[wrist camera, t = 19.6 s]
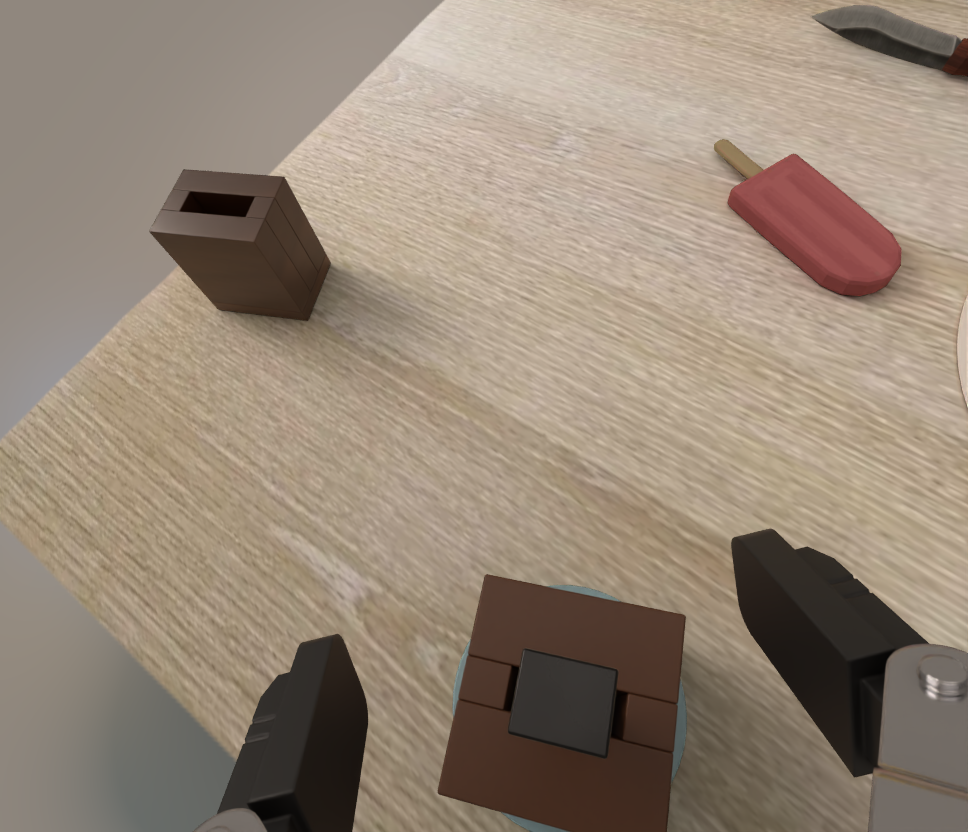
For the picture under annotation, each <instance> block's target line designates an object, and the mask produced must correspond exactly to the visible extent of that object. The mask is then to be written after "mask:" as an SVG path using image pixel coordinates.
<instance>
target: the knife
mask: <svg viewBox="0 0 968 832" xmlns="http://www.w3.org/2000/svg"><path fill="white" fill-rule="evenodd" d="M811 17H812V18H813V19H815V20H816V21H818V22H819V23H820V24H822V25H823V26H825V27H826V28H828V29H829V30H831V31H833V32H835V33H836V34H838V35H840V36H842V37H844V38H846V39H848V40H851V41H853V42H855V43H857V44H860V45H862V46H865V47H867V48H870V49H873V50H875V51H878V52H881V53H884V54H887V55H890V56H893V57H896V58H899V59H903V60H906V61H909V62H913V63H916V64H920V65H924V66H928V67H932V68H936V69H940V70H943V71H945V72H948V73H950V74H952V75H962V76H967V77H968V39H966V38H963V40H961V39H959V38H958V37H957V36H955V35H951V34H947V33H944V32H941V31H937V30H934V29H931V28H928V27H926V26H923V25H921V24H918V23H915V22H913V21H910V20H908V19H905V18H903V17H901V16H898V15H896V14H894V13H892V12H889V11H887V10H885V9H882V8H879V7H877V6H872V5H853V6H848V7H843V8H838V9H832V10H828V11H825V12H822V13H819V14H816V15H814V16H811Z"/></svg>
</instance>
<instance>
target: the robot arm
mask: <svg viewBox="0 0 968 832" xmlns="http://www.w3.org/2000/svg"><path fill="white" fill-rule="evenodd" d="M731 548H732V556H733V564H734V572H735V580H736V588H737V595H738V602H739V607H740V611H741V614H742V617H743V619H744V622H745V624H746V626H747V628H748V630H749V632H750V633H751V635H752V636H753V638H754V639H755V641H756V642H757V643H758V645H759V646H760V647H761V649H762V650H763V652H764V653H765V654H766V656H767V657H768V659H769V660H770V661H771V663H772V664H773V665H774V667H775V668H776V670H777V671H778V672H779V674H780V675H781V677H782V678H783V679H784V681H785V682H786V683H787V685H788V686H789V688H790V689H791V690H792V692H793V693H794V695H795V696H796V697H797V699H798V700H799V701H800V703H801V704H802V706H803V707H804V708H805V710H806V711H807V713H808V714H809V715H810V717H811V718H812V719H813V721H814V722H815V724H816V725H817V726H818V728H819V729H820V731H821V732H822V733H823V735H824V736H825V737H826V739H827V740H828V742H829V743H830V744H831V746H832V747H833V749H834V750H835V751H836V753H837V754H838V755H839V757H840V758H841V760H842V761H843V762H844V764H845V765H846V767H847V768H848V769H849V771H850V772H851V774H852V775H853V776H854V778H855V777H859V776H863V775H867V774H871V773H873V777H872V788H871V800H870V811H869V823H868V832H968V653H966V652H964V651H962V650H958V649H955V648H952V647H948V646H943V645H936V644H929V643H928V642H927V641H926V640H925V639H923V638H922V637H921V636H920V635H919V634H918V633H917V632H916V631H915V630H913V629H912V628H911V627H910V626H909V625H908V624H907V623H906V622H904V621H903V620H902V619H901V618H900V617H899V616H898V615H897V614H896V613H894V612H893V611H892V610H891V609H890V608H889V607H888V606H887V605H885V604H884V603H883V602H882V601H881V600H880V599H879V598H878V597H877V596H875V595H874V594H873V593H870V592H869V590H868V588H867V587H865V586H864V585H863V584H862V583H861V582H860V581H859V580H858V579H854V578H853V575H852V574H851V573H850V572H849V571H848V570H846V569H845V568H844V567H843V566H842V565H841V564H840V563H839V562H837V561H836V560H835V559H834V558H832V557H830V556H827V555H825V554H823V553H821V552H818V551H816V550H814V549H812V548H809V547H804V548H800V549H796V550H795V549H793V548H792V547H791V546H790V545H789V544H788V543H787V542H786V541H785V540H784V539H783V538H782V537H781V536H780V535H779V534H778V533H777V532H776V531H775V530H773V529H766V530H762V531H758V532H754V533H750V534H746V535H742V536H738V537H734V538H733V539H732V542H731ZM252 722H253V724H252V725H250V727H249V730H248V733H247V735H246V738H245V744H243V746H242V749H241V751H240V754H239V757H238V759H237V762H236V765H235V767H234V770H233V773H232V775H231V778H230V781H229V783H228V786H227V789H226V791H225V794H224V796H223V799H222V802H221V805H220V807H219V810H218V813H217V815H215V816H213V817H211V818H210V819H208V820H207V821H205V822H204V823H202V824H201V825H200V826H199V827H197V828H196V829H195V830H194V831H193V832H352V829H353V822H354V816H355V809H356V802H357V795H358V789H359V782H360V775H361V768H362V762H363V755H364V748H365V741H366V735H367V728H368V710H367V703H366V698H365V695H364V691H363V689H362V686H361V684H360V681H359V678H358V676H357V673H356V671H355V668H354V666H353V663H352V660H351V658H350V655H349V653H348V650H347V648H346V645H345V643H344V640H343V639H342V637H341V636H340V635H339V634H335V635H331V636H327V637H323V638H319V639H315V640H311V641H306V642H302V643H301V644H300V645H299V647H298V650H297V653H296V656H295V659H294V662H293V665H292V668H291V671H290V672H289V673H285V674H281V675H278V676H277V677H276V679H275V680H274V681H273V683H272V684H271V685H270V686H269V688H268V689H267V690H266V691H265V693H264V694H263V695H262V696H261V698H260V701H259V703H258V706H257V709H256V711H255V714H254V717H253V719H252Z"/></svg>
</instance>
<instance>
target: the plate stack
mask: <svg viewBox="0 0 968 832" xmlns="http://www.w3.org/2000/svg"><path fill="white" fill-rule="evenodd" d="M957 359H958V369H959V376H960V381H961V386H962V390H963V394H964V398H965V401H966V404H967V407H968V295H967V297H966V300H965V303H964V306H963V309H962V313H961V317H960V322H959V328H958V338H957Z"/></svg>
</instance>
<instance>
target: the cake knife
mask: <svg viewBox="0 0 968 832" xmlns="http://www.w3.org/2000/svg"><path fill="white" fill-rule="evenodd" d="M618 674H619V672H618V670H617V669H616V668H612V667H607V666H603V665H599V664H594V663H590V662H586V661H581V660H577V659H572V658H568V657H564V656H559V655H555V654H551V653H546V652H542V651H538V650H533V649H529V648H524V649H523V650H522V655H521V660H520V666H519V671H518V676H517V682H516V687H515V692H514V698H513V703H512V708H511V714H510V719H509V724H508V733H509V734H510V735H513V736H517V737H521V738H525V739H529V740H532V741H536V742H540V743H544V744H548V745H552V746H556V747H559V748H563V749H567V750H571V751H575V752H579V753H582V754H586V755H590V756H594V757H598V758H602V759H607V757H608V753H609V745H610V737H611V729H612V721H613V713H614V705H615V698H616V690H617V682H618Z"/></svg>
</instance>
